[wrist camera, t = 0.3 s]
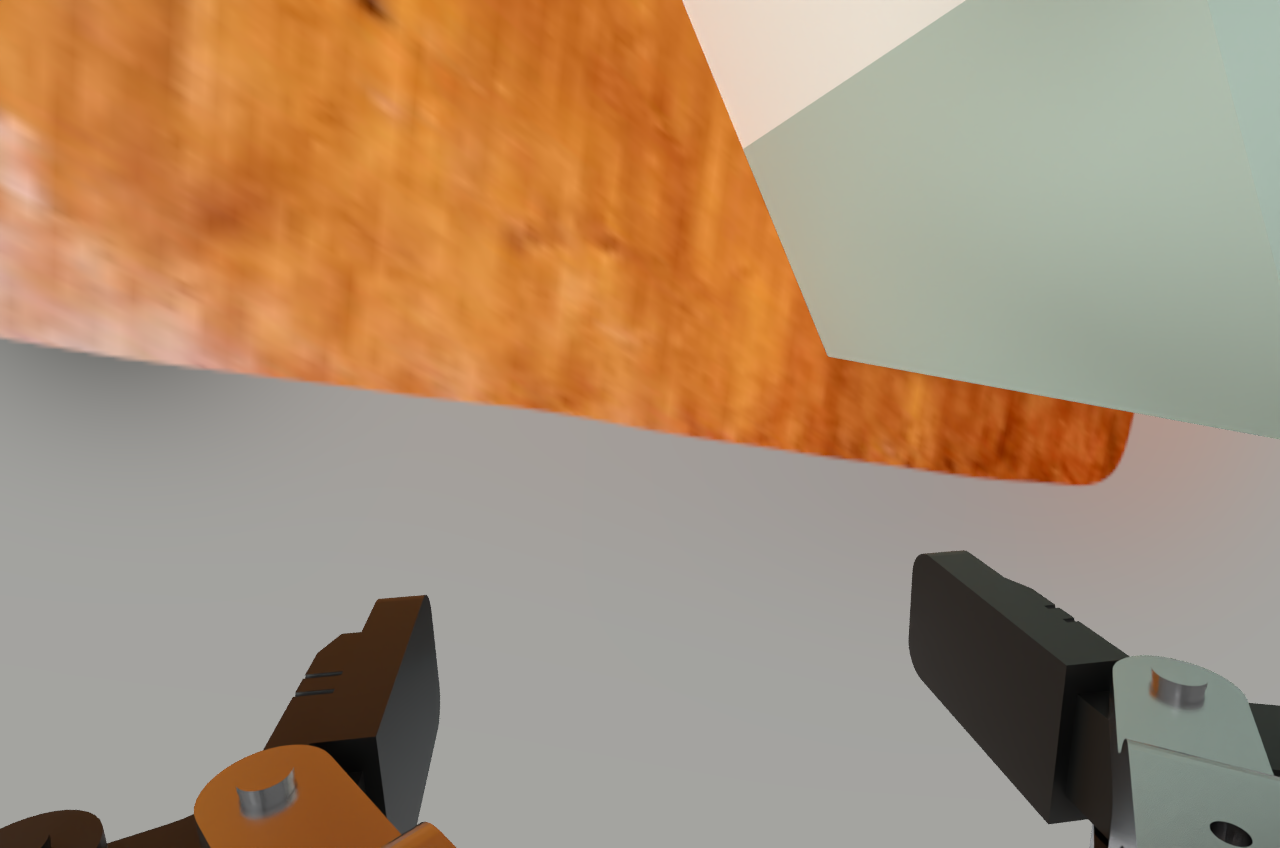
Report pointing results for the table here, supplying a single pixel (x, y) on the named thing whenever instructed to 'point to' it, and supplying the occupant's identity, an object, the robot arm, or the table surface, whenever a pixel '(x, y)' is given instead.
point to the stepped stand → (1026, 189)
